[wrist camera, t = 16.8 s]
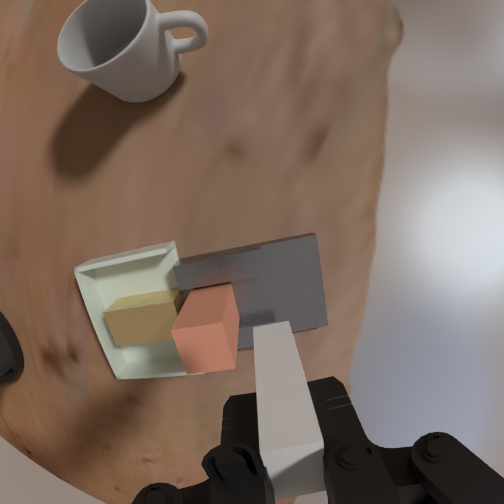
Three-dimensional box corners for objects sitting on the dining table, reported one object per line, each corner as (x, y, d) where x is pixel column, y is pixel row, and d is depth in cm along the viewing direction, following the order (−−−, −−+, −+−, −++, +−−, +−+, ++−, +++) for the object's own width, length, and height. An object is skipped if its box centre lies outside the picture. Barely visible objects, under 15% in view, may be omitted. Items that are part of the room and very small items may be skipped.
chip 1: (129, 329, 32) (116, 345, 28) (117, 297, 31) (102, 312, 27) (159, 325, 32) (148, 342, 28) (148, 292, 31) (135, 307, 27)
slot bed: (203, 342, 33) (199, 354, 30) (179, 259, 30) (172, 266, 28) (325, 320, 32) (331, 331, 29) (313, 232, 30) (319, 237, 27)
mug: (109, 111, 27) (50, 88, 16) (110, 46, 25) (61, 7, 14) (218, 90, 26) (200, 45, 16) (213, 23, 24) (197, -36, 14)
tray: (126, 364, 34) (117, 379, 30) (88, 260, 31) (73, 268, 27) (207, 356, 33) (203, 373, 30) (174, 240, 30) (165, 247, 27)
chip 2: (159, 325, 32) (148, 342, 28) (148, 292, 31) (135, 307, 27) (192, 320, 32) (185, 338, 28) (182, 286, 31) (173, 301, 27)
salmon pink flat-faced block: (202, 324, 31) (186, 374, 22) (192, 288, 30) (170, 329, 21) (239, 318, 31) (235, 368, 22) (230, 281, 30) (222, 322, 21)
